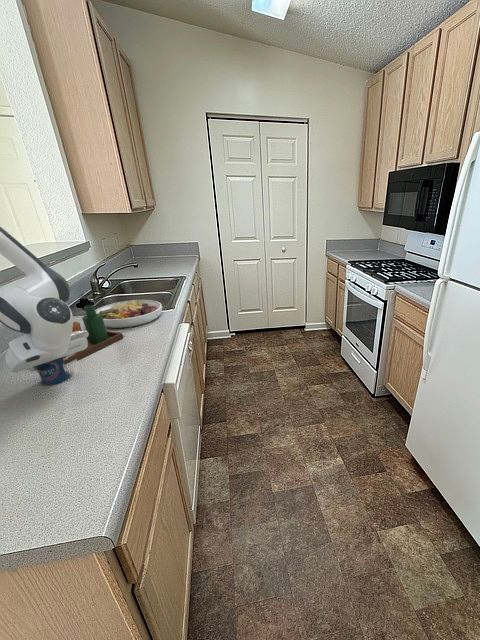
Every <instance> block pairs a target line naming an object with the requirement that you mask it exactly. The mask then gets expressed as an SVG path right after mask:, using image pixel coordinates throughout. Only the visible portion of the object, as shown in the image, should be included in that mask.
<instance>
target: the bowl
mask: <svg viewBox="0 0 480 640" xmlns="http://www.w3.org/2000/svg"><path fill="white" fill-rule="evenodd" d="M95 311H96V314H97V313H98V314H102V317H103V320H104V324H105V327H106V328H110V329H111V328H112V329H113V328H114V329H121V328H122V329H123V328H130V327H131V328H132V327H137V326H141V325H144V324H147V323H150V322H152V321H154V320H156V319H157V318H159V317H160V316H161V314H162V312H163V305H162V303H161V302H159V301H156V300H151V299H132V300H124V301H119V302H114V303H110V304H106V305H103V306H101V307H98V308H97V309H96V308H95Z"/></svg>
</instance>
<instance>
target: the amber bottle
mask: <svg viewBox="0 0 480 640" xmlns="http://www.w3.org/2000/svg"><path fill="white" fill-rule="evenodd" d="M76 331H83V329H82V327H81V323H80V322H79V321H73V329H72V332H76ZM87 348H88V347H87ZM87 348H86V349H87ZM82 351H83V350H82ZM79 352H81V351H79ZM79 352H76V353H79ZM76 353H73V354H72V355H74V354H76Z"/></svg>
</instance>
